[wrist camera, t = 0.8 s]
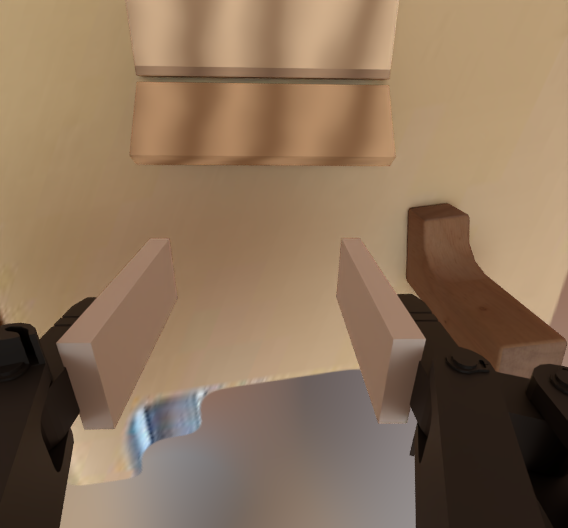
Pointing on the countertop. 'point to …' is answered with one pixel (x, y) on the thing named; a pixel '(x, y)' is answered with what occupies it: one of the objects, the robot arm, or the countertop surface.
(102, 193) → the countertop surface
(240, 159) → the board
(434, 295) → the wooden block
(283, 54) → the laid board
